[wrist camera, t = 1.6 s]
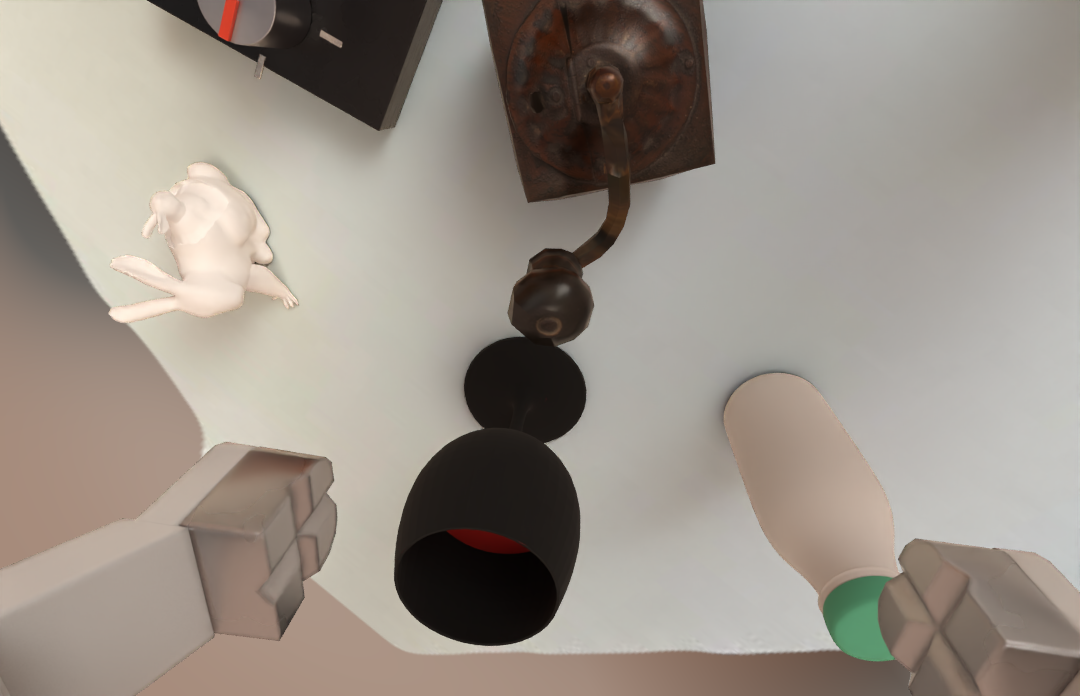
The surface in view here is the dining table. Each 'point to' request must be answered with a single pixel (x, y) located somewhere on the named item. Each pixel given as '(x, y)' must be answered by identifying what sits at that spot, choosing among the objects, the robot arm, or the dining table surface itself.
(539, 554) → the wine glass
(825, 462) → the milk bottle
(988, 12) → the dining table surface
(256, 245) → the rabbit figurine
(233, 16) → the hob knob
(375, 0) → the plate
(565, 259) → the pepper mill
